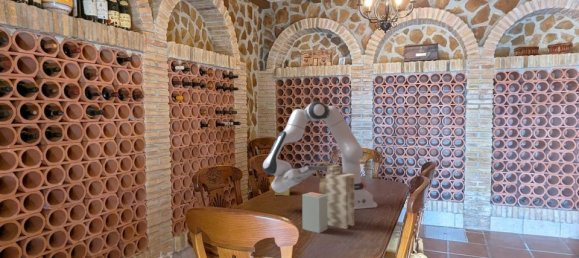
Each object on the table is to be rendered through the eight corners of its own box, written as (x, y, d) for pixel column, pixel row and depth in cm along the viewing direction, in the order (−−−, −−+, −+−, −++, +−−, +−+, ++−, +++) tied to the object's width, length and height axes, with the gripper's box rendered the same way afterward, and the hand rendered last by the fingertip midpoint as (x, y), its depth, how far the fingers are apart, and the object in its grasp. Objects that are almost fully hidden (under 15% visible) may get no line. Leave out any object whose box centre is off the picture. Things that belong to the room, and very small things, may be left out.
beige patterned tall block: (325, 224, 183) (325, 166, 182) (334, 220, 189) (334, 164, 188) (346, 229, 176) (346, 168, 174) (354, 225, 182) (354, 166, 180)
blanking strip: (303, 169, 194) (303, 166, 194) (307, 169, 196) (306, 165, 196) (325, 170, 185) (324, 166, 185) (328, 169, 187) (328, 165, 187)
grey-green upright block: (302, 228, 176) (302, 194, 176) (310, 225, 182) (310, 191, 181) (319, 233, 170) (319, 197, 169) (327, 229, 176) (327, 194, 175)
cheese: (289, 192, 256) (289, 178, 256) (289, 195, 246) (289, 181, 245) (274, 192, 256) (274, 178, 256) (274, 196, 245) (274, 181, 245)
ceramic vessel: (329, 205, 220) (330, 164, 219) (310, 199, 236) (310, 161, 234) (350, 200, 231) (351, 162, 230) (330, 195, 246) (330, 159, 245)
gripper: (279, 174, 193) (296, 163, 186) (302, 169, 209) (319, 159, 201) (283, 185, 192) (301, 174, 184) (306, 179, 208) (323, 169, 200)
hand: (310, 166), depth 193 cm, fingers closed on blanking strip, 3 cm apart
